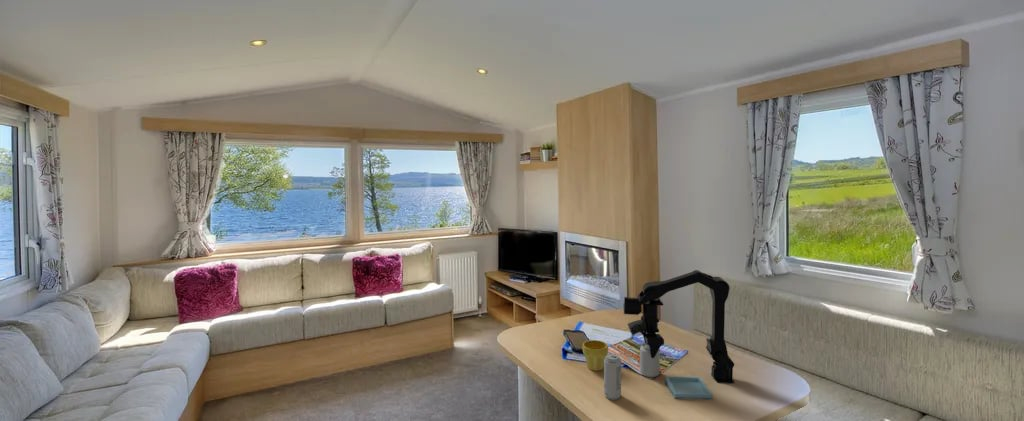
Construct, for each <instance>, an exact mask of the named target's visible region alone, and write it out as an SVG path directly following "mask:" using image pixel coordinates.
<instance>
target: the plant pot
mask: <svg viewBox="0 0 1024 421" xmlns="http://www.w3.org/2000/svg"><path fill="white" fill-rule="evenodd" d="M582 352H583V355H584V359H585V362H586V366H587V368H588V369H589V370H591V371H599V372H600V371H602V370H604V359H605V358H606V355H607V354H609V346H608V343H607V342H605V341H603V340H602V341H601V340H597V339H591V340H585V341H584V342H582Z"/></svg>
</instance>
